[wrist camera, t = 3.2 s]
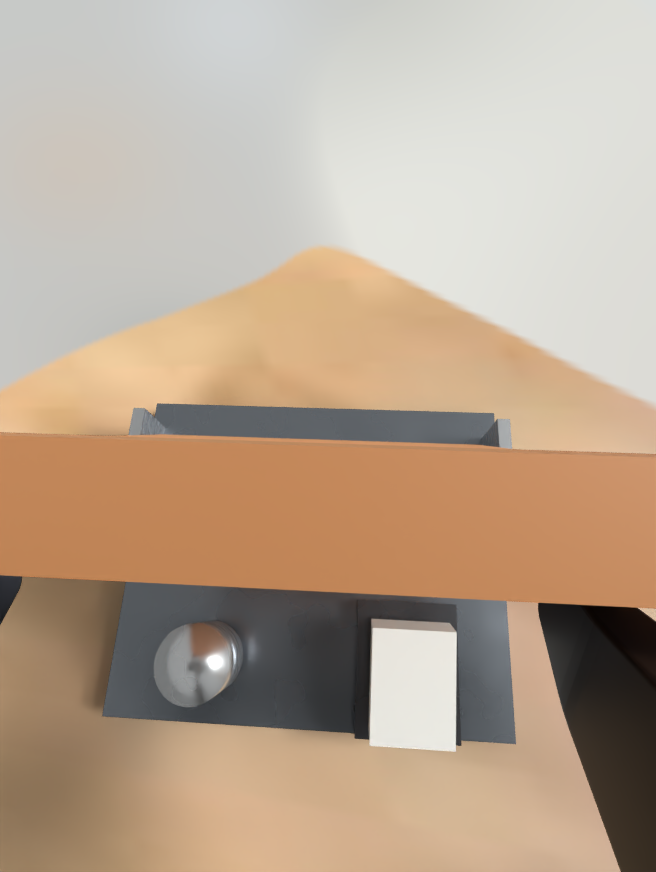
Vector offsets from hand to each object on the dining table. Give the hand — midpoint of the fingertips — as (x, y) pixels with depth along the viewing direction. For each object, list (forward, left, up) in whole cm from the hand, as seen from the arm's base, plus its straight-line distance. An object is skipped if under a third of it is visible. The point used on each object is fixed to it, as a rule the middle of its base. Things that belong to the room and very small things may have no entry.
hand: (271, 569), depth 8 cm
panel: (+1, 0, -10) cm, 10 cm away
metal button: (-3, +3, -9) cm, 10 cm away
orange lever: (+5, +1, -9) cm, 10 cm away
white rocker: (-2, -3, -8) cm, 9 cm away
